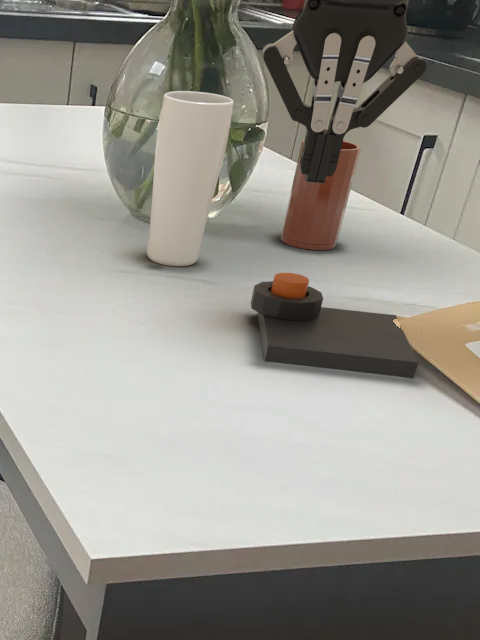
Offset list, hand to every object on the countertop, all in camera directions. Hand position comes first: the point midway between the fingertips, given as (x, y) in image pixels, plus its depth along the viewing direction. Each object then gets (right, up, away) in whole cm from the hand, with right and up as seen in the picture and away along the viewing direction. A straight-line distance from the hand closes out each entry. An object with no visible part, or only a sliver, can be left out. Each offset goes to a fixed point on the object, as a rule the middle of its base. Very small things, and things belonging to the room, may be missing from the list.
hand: (314, 180), depth 88 cm
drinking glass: (-8, +2, +22) cm, 23 cm away
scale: (+3, -13, +4) cm, 13 cm away
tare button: (-1, -8, +6) cm, 9 cm away
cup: (+9, +7, +30) cm, 33 cm away
